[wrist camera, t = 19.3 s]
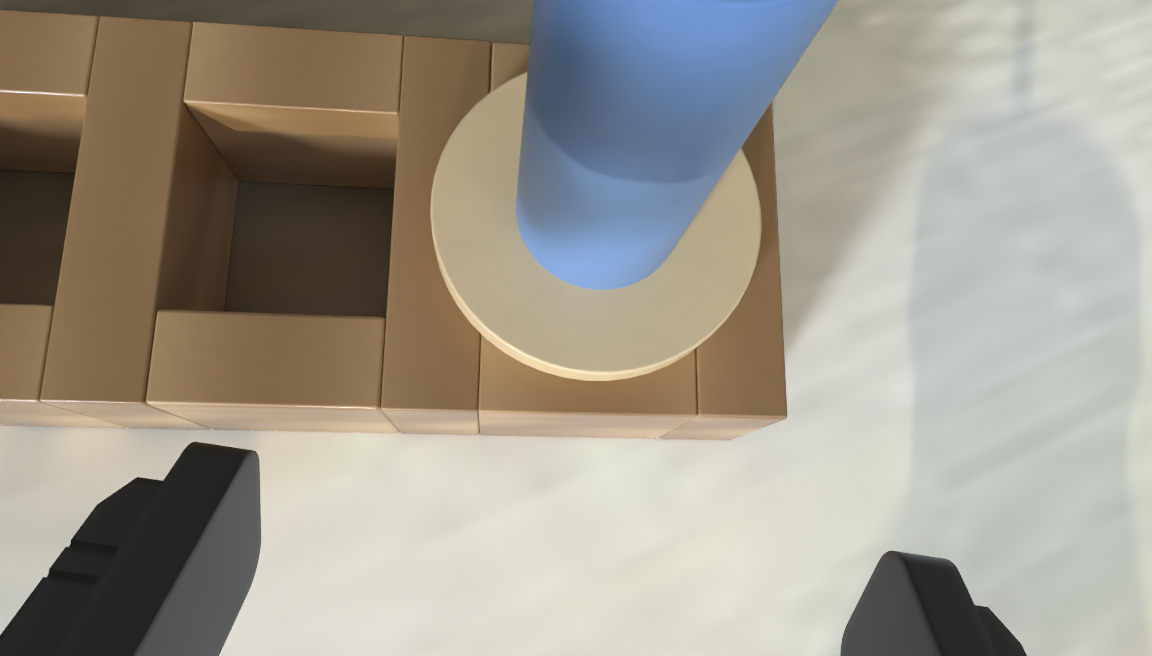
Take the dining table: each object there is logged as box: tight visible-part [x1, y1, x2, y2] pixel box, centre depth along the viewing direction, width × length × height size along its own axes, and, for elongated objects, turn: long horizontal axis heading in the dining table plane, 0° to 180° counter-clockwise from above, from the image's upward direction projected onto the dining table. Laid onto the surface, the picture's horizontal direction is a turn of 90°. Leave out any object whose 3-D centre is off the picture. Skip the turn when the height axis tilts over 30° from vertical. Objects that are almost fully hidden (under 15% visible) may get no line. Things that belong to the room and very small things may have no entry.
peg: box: [430, 0, 839, 381], centre depth 14 cm, size 6×6×13 cm
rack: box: [0, 9, 787, 440], centre depth 18 cm, size 20×8×4 cm, turn 89°
